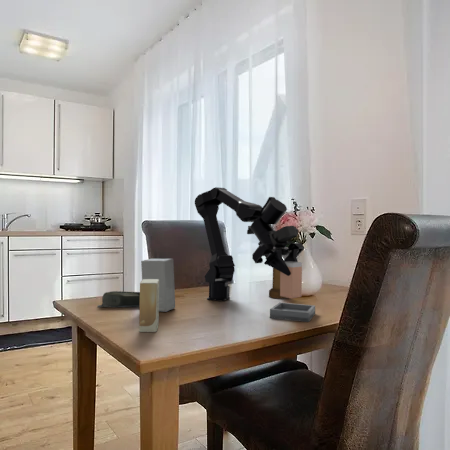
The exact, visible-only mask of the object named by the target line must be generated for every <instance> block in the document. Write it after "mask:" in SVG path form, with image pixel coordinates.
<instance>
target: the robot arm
mask: <svg viewBox="0 0 450 450" xmlns="http://www.w3.org/2000/svg"><path fill="white" fill-rule="evenodd" d="M221 204H224V206H227V207H228V208H230V209H232V210H233V211H234V212H235V216H236V217H238V218H239V220H240V221H241V222H244V223H251V224H250V225H248V226H247V230H246V234H247V235H255V236H256V238H257V240H258V247H257V248H256V249H255V251H253V253H252V255H251V256H252V261H253V262H254V264H262V263H263V262H264V261H263V260H264V258H263V257H265V262H264V265H266V266H269V267H271V268H272V269H273V268H275V269H277V270H278V271H280V272H282V273H284V274H286V275H287V276H290V274H291V272H290V270H289V269H288V267H287V265H286V264H285V262H286V261H293V262H299V261H298V258H297V257H298V256H299V255H300V254H301V253H302V252H303V250H305V246H304V245H303V244H302V242H291V243H290V242H289V241H290V240H292V239H295V238H297V237H298V235H299V229H298V228H297V227H296V226H294V225H286V226H282V227H281V228H279V229H277V230H275V229H274V228H273V227H272V225H277V223H279V222H280V219H282V217H283V216H284V214H286V212H287V210H288V208H287V205H286V204H285V203H283V202H282V201H280V200H278V199H276V198H275V197H274V196H269V197H268V198H267V200H266V202H265V204H264V205H263V206H262V205H260V204H258V203H257V204H256V203H254V202H249V201H245V200H243V199H242V198H240V197H239V196H237V195H236V194H234V193H232V192H230V191H229V190H228V189H226V188H225V187H217V186H216V187H213V188H211V189H210V190H207V191H205V192H201V194H198V195H197V196H196V197H195V199H194V206H195V210H196V212H197V214H198V215H199V216H200V217H201V218H202V221H203V224H204V227H205V232H206V236H207V240H208V245H209V248H210V253H211V257H210V261H209V269H208V271H207V272H206V273H205V275H204V281H205V283H208V297H206V300H209V301H219V302H220V301H221V302H225V301H227V300H228V299H230V298H231V297H230V288H231V287H230V285H229V282H230V283H231V282H233V278H234V274H235V267H236V265H235V261H234V257H233V256H232V255H231V254H230V255H228V254H227V252H226V251H225V247H224V242H223V237H222V233H221V230H220V229H221V228H220V225H219V219H218V217H217V215H218V213H219V212H218V211H219V209H220V205H221ZM287 245H288V246H287Z"/></svg>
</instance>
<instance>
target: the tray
mask: <svg viewBox="0 0 450 450" xmlns="http://www.w3.org/2000/svg"><path fill="white" fill-rule="evenodd" d="M315 315H316V305H314V304H313V305H311V304H302V303H291V302H290V303H289V302H282V301H281V302H278V303H277V304H275V305H274V306H273V307H271V308H270V309H269V318H270V319H276V320H285V321H296V322H305V323H309V322H310V321H312V318H313V317H314V316H315Z"/></svg>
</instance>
